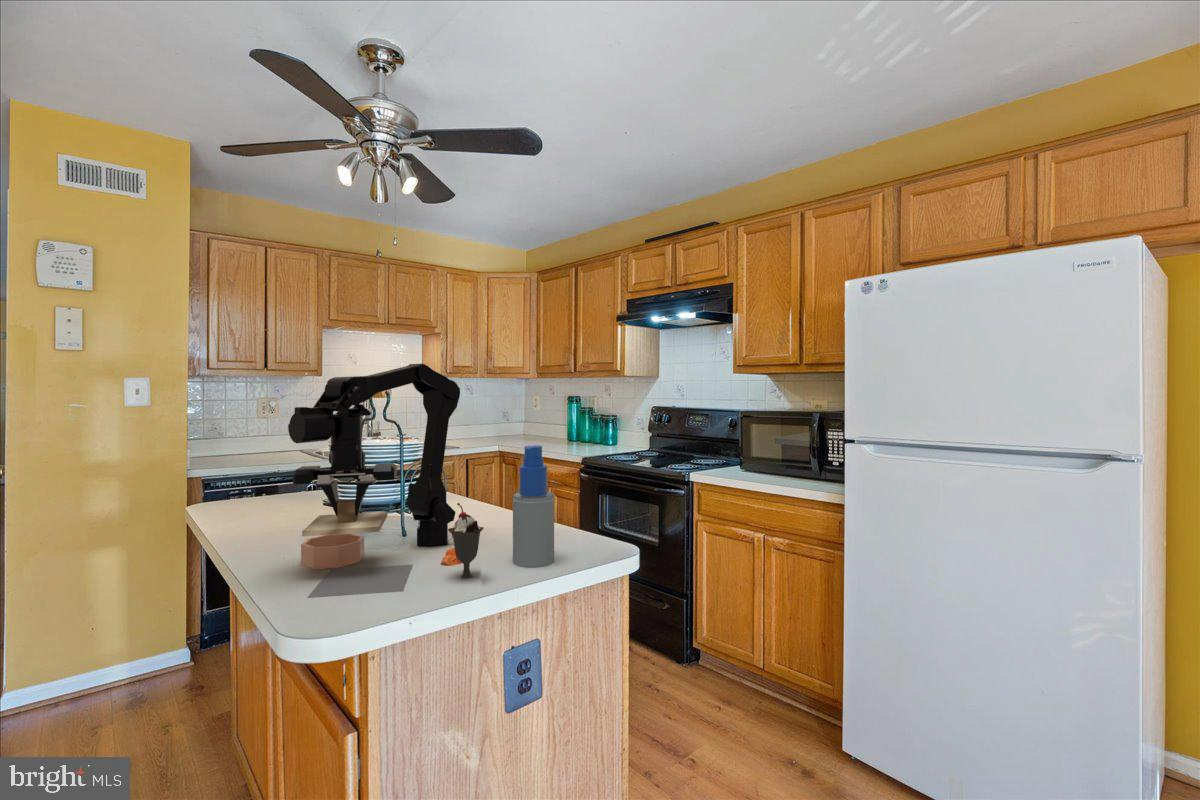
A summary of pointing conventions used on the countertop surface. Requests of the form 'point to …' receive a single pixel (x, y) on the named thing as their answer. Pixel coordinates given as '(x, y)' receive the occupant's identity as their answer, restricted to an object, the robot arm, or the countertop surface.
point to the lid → (346, 521)
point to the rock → (450, 558)
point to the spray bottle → (533, 513)
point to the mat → (362, 581)
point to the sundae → (466, 540)
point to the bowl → (332, 551)
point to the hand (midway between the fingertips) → (347, 515)
